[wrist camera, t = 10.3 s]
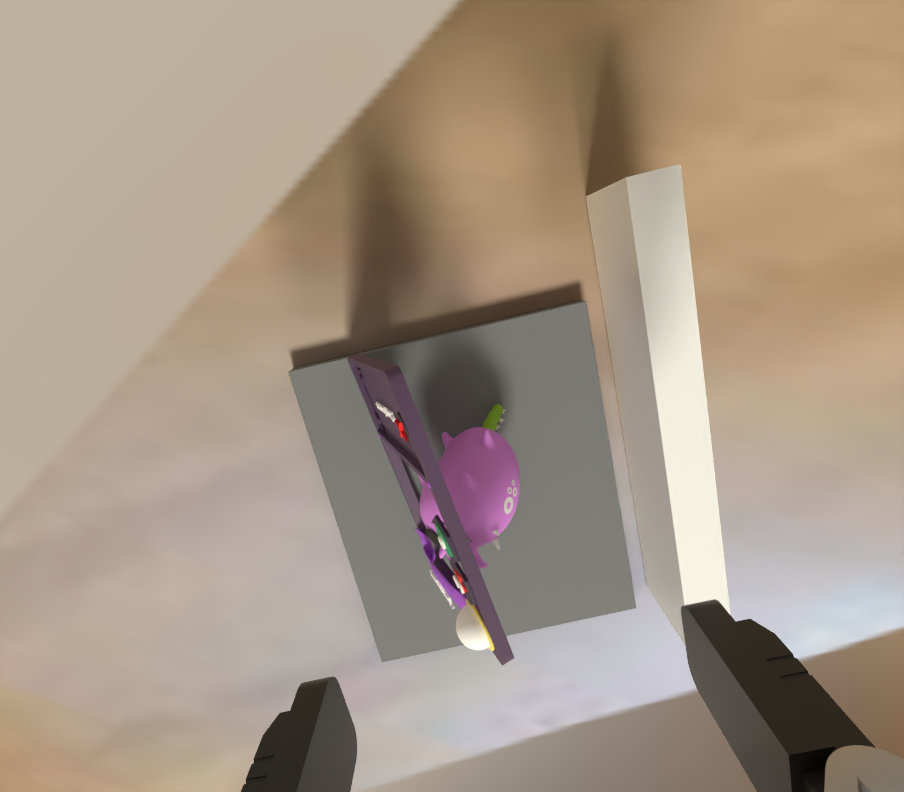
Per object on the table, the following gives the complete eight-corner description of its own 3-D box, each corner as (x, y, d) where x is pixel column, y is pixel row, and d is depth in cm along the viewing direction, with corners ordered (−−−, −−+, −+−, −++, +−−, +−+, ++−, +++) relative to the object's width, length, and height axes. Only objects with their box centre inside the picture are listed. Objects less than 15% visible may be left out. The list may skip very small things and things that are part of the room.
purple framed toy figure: (356, 384, 12) (481, 683, 14) (543, 306, 13) (630, 589, 15) (326, 364, 18) (416, 573, 20) (455, 312, 19) (526, 513, 22)
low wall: (628, 185, 18) (680, 164, 14) (681, 577, 22) (733, 645, 18) (585, 196, 18) (625, 177, 14) (646, 585, 22) (691, 654, 18)
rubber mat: (581, 300, 19) (585, 301, 18) (631, 599, 22) (636, 607, 21) (292, 368, 19) (288, 372, 18) (383, 651, 22) (382, 662, 22)
